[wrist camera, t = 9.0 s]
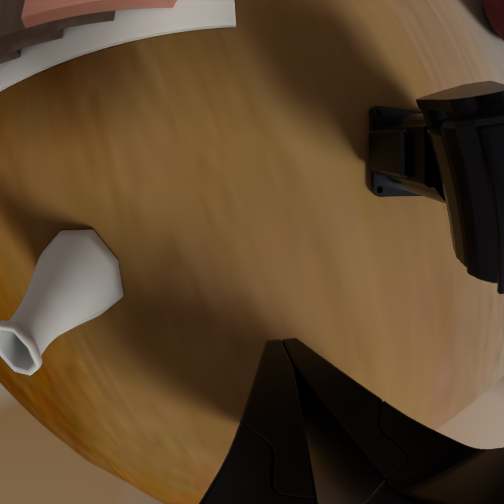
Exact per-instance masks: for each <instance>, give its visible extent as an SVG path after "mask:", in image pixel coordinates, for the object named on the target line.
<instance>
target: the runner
mask: <svg viewBox="0 0 504 504" xmlns="http://www.w3.org/2000/svg"><path fill="white" fill-rule="evenodd" d="M225 27H236V16H235V3H234V0H177V2H176V3H175V5H174V7H173V8H141V9H126V10H116V12H115V17H114V21H108V22H100V23H93V24H86V25H80V26H75V27H70V28H65V29H64V31H63V38H61V39H57V40H52V41H48V42H44V43H40V44H37V45H33V46H30V47H26V48H23V49H21V56H20V58H17V59H13V60H10V61H7V62H5V63H2V64H0V91H2V90H4V89H6V88H7V87H9V86H11V85H13V84H15V83H17V82H19V81H21V80H23V79H25V78H27V77H30V76H32V75H34V74H36V73H38V72H41V71H43V70H45V69H48V68H50V67H52V66H55V65H57V64H60V63H63V62H65V61H68V60H71V59H73V58H76V57H79V56H82V55H85V54H88V53H91V52H94V51H97V50H101V49H104V48H108V47H111V46H115V45H119V44H123V43H127V42H131V41H135V40H140V39H144V38H149V37H154V36H159V35H165V34H171V33H178V32H185V31H192V30H201V29H212V28H225Z"/></svg>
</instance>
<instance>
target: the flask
mask: <svg viewBox="0 0 504 504" xmlns="http://www.w3.org/2000/svg"><path fill="white" fill-rule="evenodd" d="M122 297H124V295H123V289H122V283H121V276H120V269H119V261H118V259H117V258H116V257H115V256H114V255H113V253H112V252H111V251H110V250H109V249H108V247H107V246H106V245H105V244H104V242H103V241H102V240H101V239H100V237H99V236H98V235H97V234H96V232H95V231H94V230H62V231H60V232H59V233H58V234H57V235H56V237H55V238H54V239H53V240H52V241H51V242H50V243H49V245H48V246H47V247H46V248H45V249H44V251H43V252H42V253H41V255H40V257H39V260H38V262H37V265H36V268H35V270H34V273H33V276H32V278H31V281H30V283H29V286H28V288H27V291H26V293H25V296H24V298H23V301H22V303H21V304H20V306H19V307H18V309H17V311H16V312H15V314H14V315H13V316H12V317H11V318H10V319H9V320H8V321H0V356H1V357H2V359H3V360H4V361H5V362H6V363H7V364H8V365H9V366H10V367H11V368H12V369H13V370H14V371H15V372H19V373H23V374H27V375H32V374H33V373H34V372H35V371H36V370H37V369H39V368H40V366H41V365H42V358H41V355H42V353H43V352H44V350H45V349H46V347H47V346H48V345H49V343H50V342H51V341H53V340H54V339H55V338H56V337H57V336H59V335H61V334H63V333H65V332H66V331H68V330H70V329H72V328H74V327H76V326H78V325H80V324H82V323H84V322H87V321H89V320H91V319H93V318H95V317H97V316H99V315H101V314H102V313H104V312H105V311H106V310H107V309H109V308H110V307H111V306H112V305H114V304H115V303H116V302H117V301H119V300H120V299H121V298H122Z"/></svg>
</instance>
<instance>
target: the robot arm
mask: <svg viewBox="0 0 504 504" xmlns="http://www.w3.org/2000/svg"><path fill="white" fill-rule="evenodd" d="M416 102H417V105H418V107H419V109H421V111H422V112H417V111H411V110H405V109H398V108H390V107H382V106H374V107H371V108H370V110H369V118H370V133H369V163H370V169H371V190H372V193H373V194H374V195H375V196H379V197H387V196H425V197H428V198H431V199H434V200H437V201H440V202H443V203H446V205H447V211H448V216H449V222H450V228H451V236H452V241H453V248H454V251H455V254H456V257H457V258H458V259H459V260H460V261H461V263H462V264H463V265H464V266H465V267H467V273H468V274H470V275H472V276H474V277H476V278H478V279H480V280H483V281H487V282H490V283H498V288H497V291H498V293H499V294H504V84H500V83H497V82H493V81H485V82H478V83H471V84H465V85H461V86H457V87H454V88H450V89H447V90H443V91H440V92H437V93H434V94H430V95H427V96H424V97H421V98H418V99H416ZM375 110H377V111H378V116H376V114H375ZM378 187H380V191H379V192H377V188H378ZM199 504H504V447H503V448H496V449H478V448H473V447H469V446H467V445H464V444H462V443H460V442H457V441H455V440H453V439H451V438H449V437H446V436H445V435H442V434H441V433H439V432H436V431H435V430H432V429H430V428H428V427H426V426H425V425H423V424H421V423H419V422H417V421H415V420H414V419H412V418H410V417H408V416H407V415H405V414H403V413H402V412H400V411H399V410H397V409H396V408H394V407H393V406H391V405H390V404H388V403H387V402H385V401H383V402H382V399H381V398H379V397H378V396H376V395H375V394H373V393H372V392H370V391H369V390H368V389H366V388H365V387H363V386H362V385H360V384H359V383H358V382H356V381H355V380H353V379H352V378H351V377H349V376H348V375H346V374H345V373H344V372H342V371H341V370H339V369H338V368H337V367H335V366H334V365H332V364H331V363H330V362H328V361H327V360H326V359H324V358H323V357H321V356H320V355H319V354H317V353H316V352H315V351H313V350H312V349H311V348H309V347H308V346H306V345H305V344H304V343H302V342H301V341H300V340H298V339H297V338H290V339H283V340H282V341H281V340H279V339H278V340H267V341H266V343H265V346H264V350H263V353H262V356H261V359H260V363H259V366H258V369H257V372H256V375H255V378H254V381H253V385H252V388H251V391H250V394H249V397H248V400H247V403H246V406H245V409H244V412H243V415H242V418H241V421H240V425H239V426H238V429H237V432H236V435H235V437H234V440H233V442H232V445H231V447H230V450H229V452H228V454H227V456H226V458H225V460H224V462H223V464H222V466H221V468H220V470H219V472H218V473H217V475H216V477H215V478H214V480H213V482H212V483H211V485H210V487H209V488H208V490H207V492H206V493H205V495H204V496H203V498H202V500H201V501H200V503H199Z"/></svg>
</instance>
